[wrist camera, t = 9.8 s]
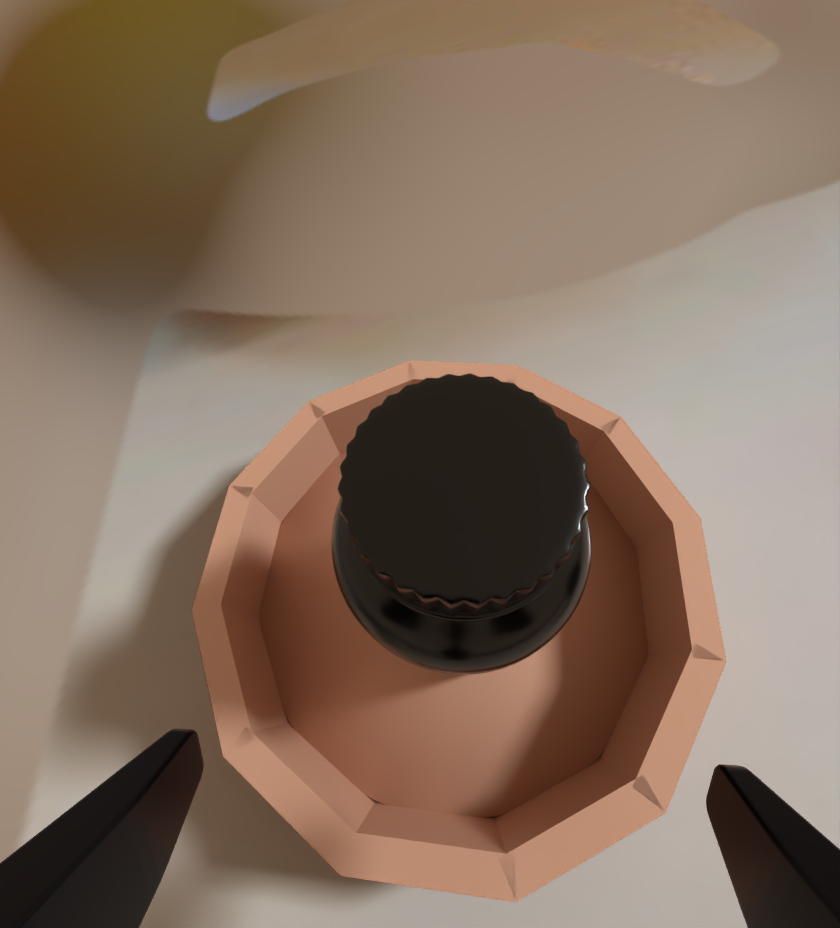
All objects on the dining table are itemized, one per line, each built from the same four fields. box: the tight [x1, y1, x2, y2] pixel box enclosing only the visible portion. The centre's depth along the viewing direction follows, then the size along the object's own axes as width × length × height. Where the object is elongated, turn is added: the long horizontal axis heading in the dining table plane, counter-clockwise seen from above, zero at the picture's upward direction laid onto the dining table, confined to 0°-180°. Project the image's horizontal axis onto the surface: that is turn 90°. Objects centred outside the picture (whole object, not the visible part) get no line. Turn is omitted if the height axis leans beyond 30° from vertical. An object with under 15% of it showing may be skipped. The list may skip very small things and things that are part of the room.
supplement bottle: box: [331, 373, 592, 675], centre depth 14 cm, size 7×7×12 cm
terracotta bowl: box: [192, 361, 726, 902], centre depth 18 cm, size 18×18×4 cm
